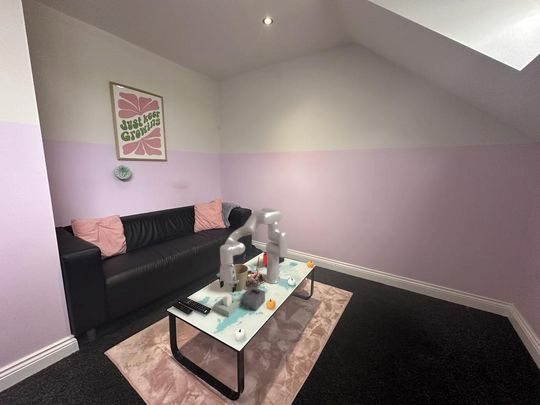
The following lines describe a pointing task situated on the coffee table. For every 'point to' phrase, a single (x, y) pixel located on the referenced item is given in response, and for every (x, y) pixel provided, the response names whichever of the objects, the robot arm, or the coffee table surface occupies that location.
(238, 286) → the plant pot
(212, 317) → the coffee table surface
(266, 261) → the game console
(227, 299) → the plug
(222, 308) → the block
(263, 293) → the dark grey rounded block
